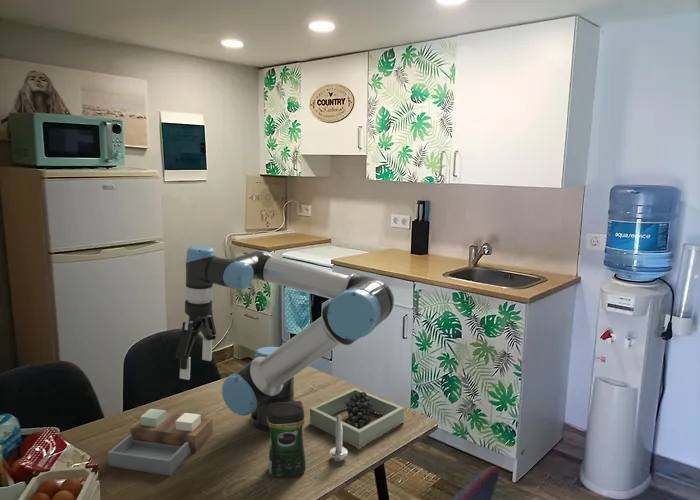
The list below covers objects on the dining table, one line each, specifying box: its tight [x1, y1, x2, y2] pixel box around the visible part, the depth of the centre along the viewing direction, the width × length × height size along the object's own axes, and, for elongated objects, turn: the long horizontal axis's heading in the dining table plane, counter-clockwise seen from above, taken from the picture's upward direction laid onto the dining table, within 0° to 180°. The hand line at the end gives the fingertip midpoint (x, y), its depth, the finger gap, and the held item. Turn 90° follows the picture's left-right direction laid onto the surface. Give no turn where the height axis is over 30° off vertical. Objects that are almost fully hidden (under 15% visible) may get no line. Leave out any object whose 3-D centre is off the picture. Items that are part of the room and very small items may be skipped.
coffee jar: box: [267, 400, 307, 478], centre depth 132 cm, size 10×8×19 cm
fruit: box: [346, 391, 374, 429], centre depth 157 cm, size 9×8×15 cm
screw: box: [329, 413, 349, 462], centre depth 138 cm, size 13×5×5 cm
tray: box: [107, 434, 192, 477], centre depth 137 cm, size 18×10×4 cm, turn 78°
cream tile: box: [176, 412, 202, 431], centre depth 145 cm, size 5×5×2 cm
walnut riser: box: [130, 412, 214, 453], centre depth 148 cm, size 20×10×5 cm, turn 78°
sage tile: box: [139, 408, 167, 427], centre depth 148 cm, size 5×5×2 cm
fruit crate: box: [309, 387, 405, 449], centre depth 158 cm, size 20×20×5 cm
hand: (196, 368), depth 151 cm, fingers open, 13 cm apart
